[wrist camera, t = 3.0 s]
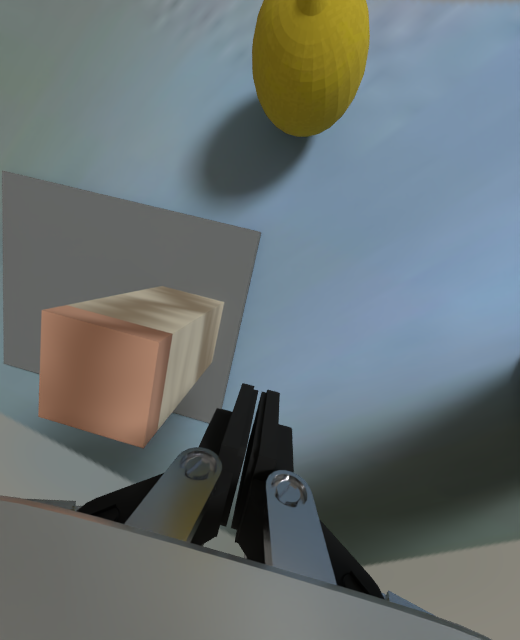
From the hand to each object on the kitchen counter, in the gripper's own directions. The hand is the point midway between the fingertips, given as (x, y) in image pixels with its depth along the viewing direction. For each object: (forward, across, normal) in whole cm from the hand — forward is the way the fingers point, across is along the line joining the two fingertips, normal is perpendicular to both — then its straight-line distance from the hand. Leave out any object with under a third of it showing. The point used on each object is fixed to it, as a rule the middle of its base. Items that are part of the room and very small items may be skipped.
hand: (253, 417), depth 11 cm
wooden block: (+9, +6, 0) cm, 11 cm away
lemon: (+10, +2, -16) cm, 19 cm away
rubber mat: (+10, +12, 0) cm, 16 cm away
